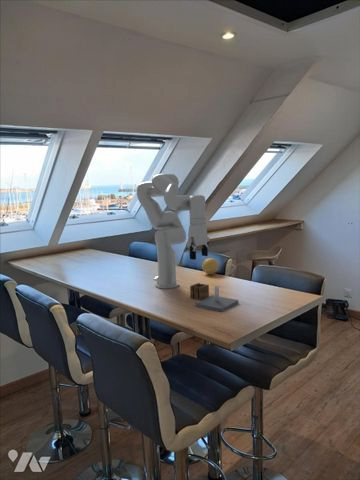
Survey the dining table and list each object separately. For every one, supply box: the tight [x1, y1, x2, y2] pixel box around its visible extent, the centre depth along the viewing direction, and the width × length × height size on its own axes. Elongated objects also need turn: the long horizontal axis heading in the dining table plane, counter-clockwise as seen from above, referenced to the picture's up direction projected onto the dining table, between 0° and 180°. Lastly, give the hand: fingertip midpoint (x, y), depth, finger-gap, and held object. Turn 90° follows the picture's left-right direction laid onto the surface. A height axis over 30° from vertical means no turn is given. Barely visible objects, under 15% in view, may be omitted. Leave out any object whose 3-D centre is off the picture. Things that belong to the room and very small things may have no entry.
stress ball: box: [201, 257, 219, 276], centre depth 223 cm, size 10×10×10 cm
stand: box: [194, 285, 239, 313], centre depth 166 cm, size 14×14×8 cm
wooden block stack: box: [189, 282, 210, 301], centre depth 178 cm, size 6×6×6 cm
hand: (198, 257), depth 175 cm, fingers open, 9 cm apart
